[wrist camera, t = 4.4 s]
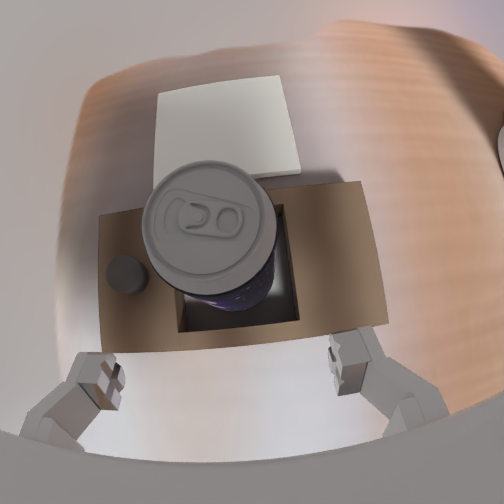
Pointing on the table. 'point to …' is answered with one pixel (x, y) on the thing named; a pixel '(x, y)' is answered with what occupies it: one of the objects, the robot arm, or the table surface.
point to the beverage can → (212, 234)
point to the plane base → (301, 269)
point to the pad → (226, 128)
